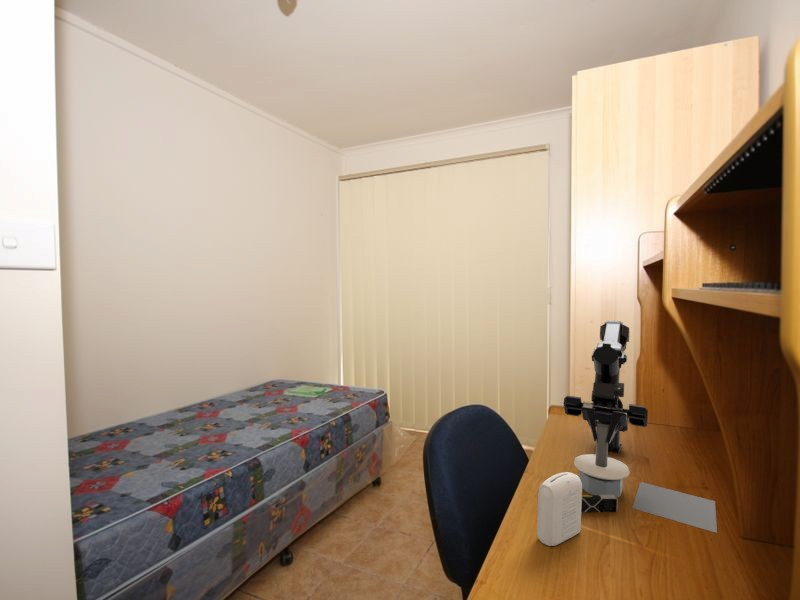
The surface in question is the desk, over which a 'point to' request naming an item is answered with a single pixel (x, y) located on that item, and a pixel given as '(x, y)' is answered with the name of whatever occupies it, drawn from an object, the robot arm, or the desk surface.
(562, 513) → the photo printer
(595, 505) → the graphics card
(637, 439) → the desk surface
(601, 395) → the robot arm
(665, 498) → the mat
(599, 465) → the lid
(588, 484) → the bowl
